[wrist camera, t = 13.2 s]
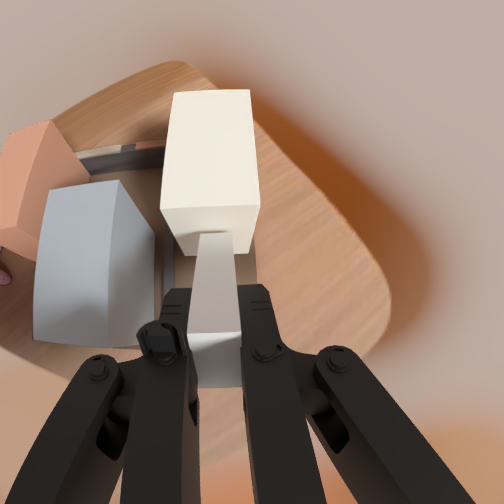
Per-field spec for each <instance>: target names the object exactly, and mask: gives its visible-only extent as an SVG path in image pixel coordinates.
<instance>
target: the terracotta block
mask: <svg viewBox="0 0 504 504" xmlns="http://www.w3.org/2000/svg"><path fill="white" fill-rule="evenodd" d="M89 180H90V174H89V172H88V171H87V170H86V168H85V167H84V166H83V164H82V163H81V162H80V160H79V159H78V158H77V156H76V155H75V154H74V152H73V151H72V149H71V148H70V147H69V145H68V144H67V142H66V141H65V139H64V138H63V137H62V135H61V134H60V132H59V131H58V129H57V128H56V126H55V125H54V123H53V122H52V120H51V119H49V120H46V121H43V122H40V123H37V124H35V125H32V126H29V127H26V128H23V129H21V130H18V131H16V132H13V133H11V134H9V136H8V138H7V141H6V143H5V145H4V148H3V150H2V152H1V155H0V245H1V246H3V247H5V248H7V249H9V250H11V251H13V252H15V253H17V254H19V255H21V256H23V257H25V258H27V259H29V260H31V261H33V262H35V263H36V261H37V253H38V246H39V239H40V233H41V227H42V222H43V217H44V212H45V207H46V203H47V198H48V194H49V190H53V189H58V188H64V187H70V186H76V185H82V184H89Z"/></svg>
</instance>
